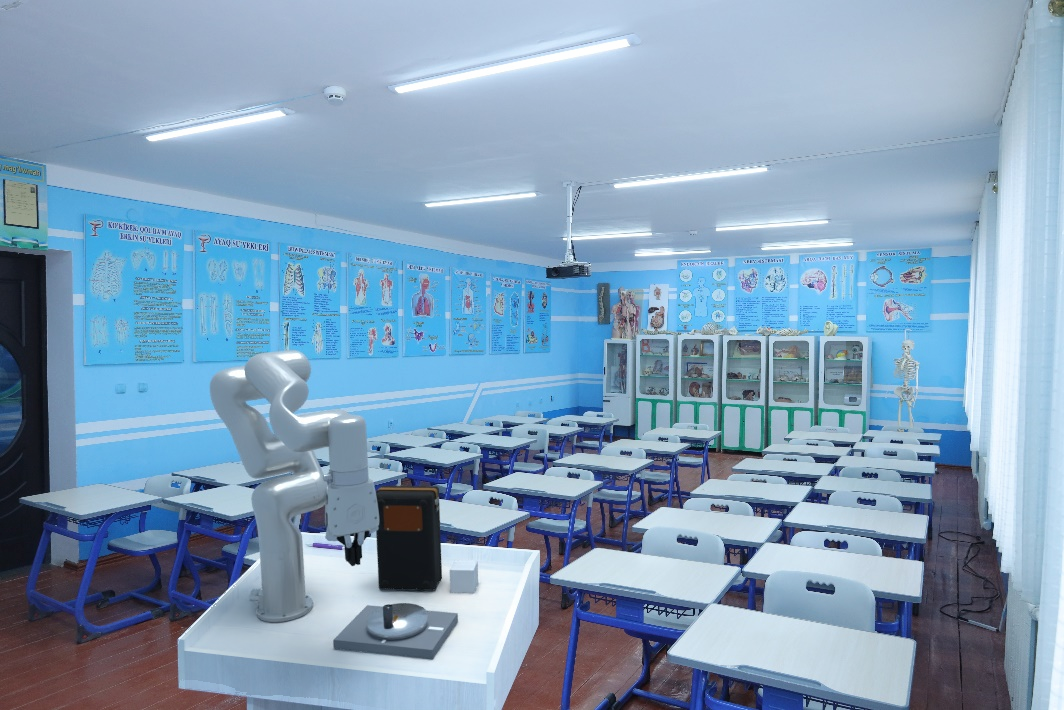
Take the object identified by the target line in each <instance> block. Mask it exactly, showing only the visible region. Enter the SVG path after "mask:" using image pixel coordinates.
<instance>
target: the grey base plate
mask: <svg viewBox="0 0 1064 710" xmlns="http://www.w3.org/2000/svg"><path fill="white" fill-rule="evenodd" d="M383 606H384V605H382V606H379V605H369V604H367V605H365V607H363V608H362V610H360V612H359V613H357V615H355V617H354V618H353V619H352V620H351V621H350V622H349V623H348V624H347V625H346V626H345V627H344V628H343V629H342V630H341V632H339V633H338V634H337V635H336V636H335V637H334V638H333V640H332V641H333V644H332V645H333V650H342V651H351V652H352V651H353V652H359V651H362V652H361V653H369V654H380V655H381V654H382V655H388V656H399V657H409V658H419V659H427V660H434V658H435V657H436V655H437V654H438V652H439V651H440V649H441V647H443V644H444V643H445V642H446V640H447V639H448V638H449V636H450V634H451V633H452V631H453V630H454V628H455V627H456V625H457V624H458V623H459V615H458V612H448V611H435V610H426V609H425V610H426V611H427V615H428V624H427V626H426V628H425V629H424V630H423V631H421V632H420V633H418V634H416V635H414V636H411V637H408V638H404V639H398V640H383V639H378V638H375V637H373V636H371V635H370V634H369V633H368V631H367V617H368V616H369V614H370V613H371V612H373V611H374V610H376V609H378V608H380V607H383Z"/></svg>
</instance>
